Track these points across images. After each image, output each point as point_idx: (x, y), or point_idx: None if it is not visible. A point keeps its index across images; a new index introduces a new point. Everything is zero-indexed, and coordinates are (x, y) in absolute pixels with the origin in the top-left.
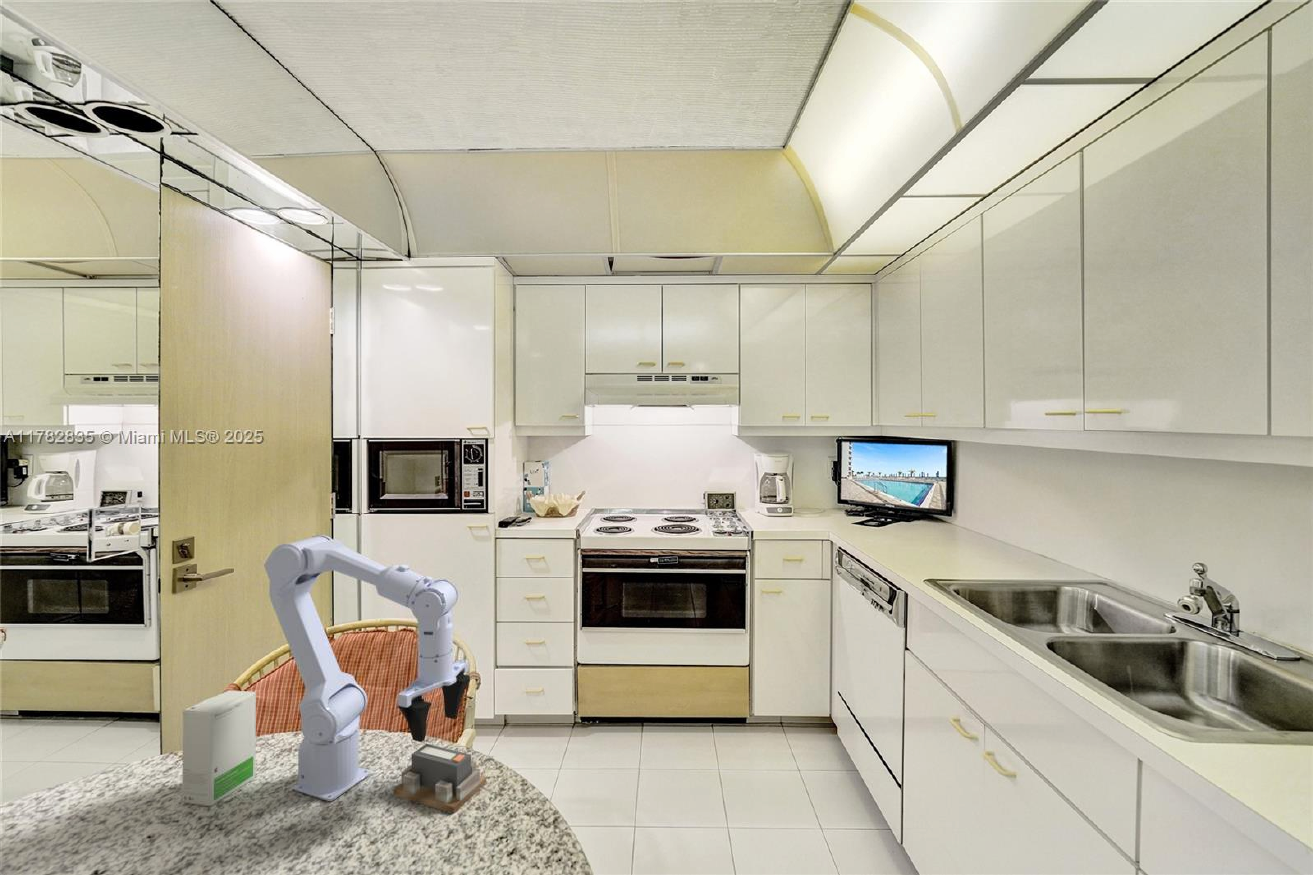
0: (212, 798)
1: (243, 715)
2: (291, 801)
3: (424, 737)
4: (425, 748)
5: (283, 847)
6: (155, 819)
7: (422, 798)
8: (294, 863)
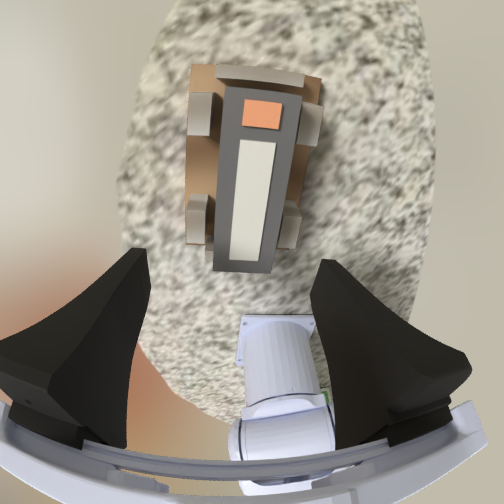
0: (328, 393)
1: None
2: (316, 349)
3: (329, 264)
4: (239, 257)
5: (395, 296)
6: None
7: (305, 171)
8: (421, 265)
